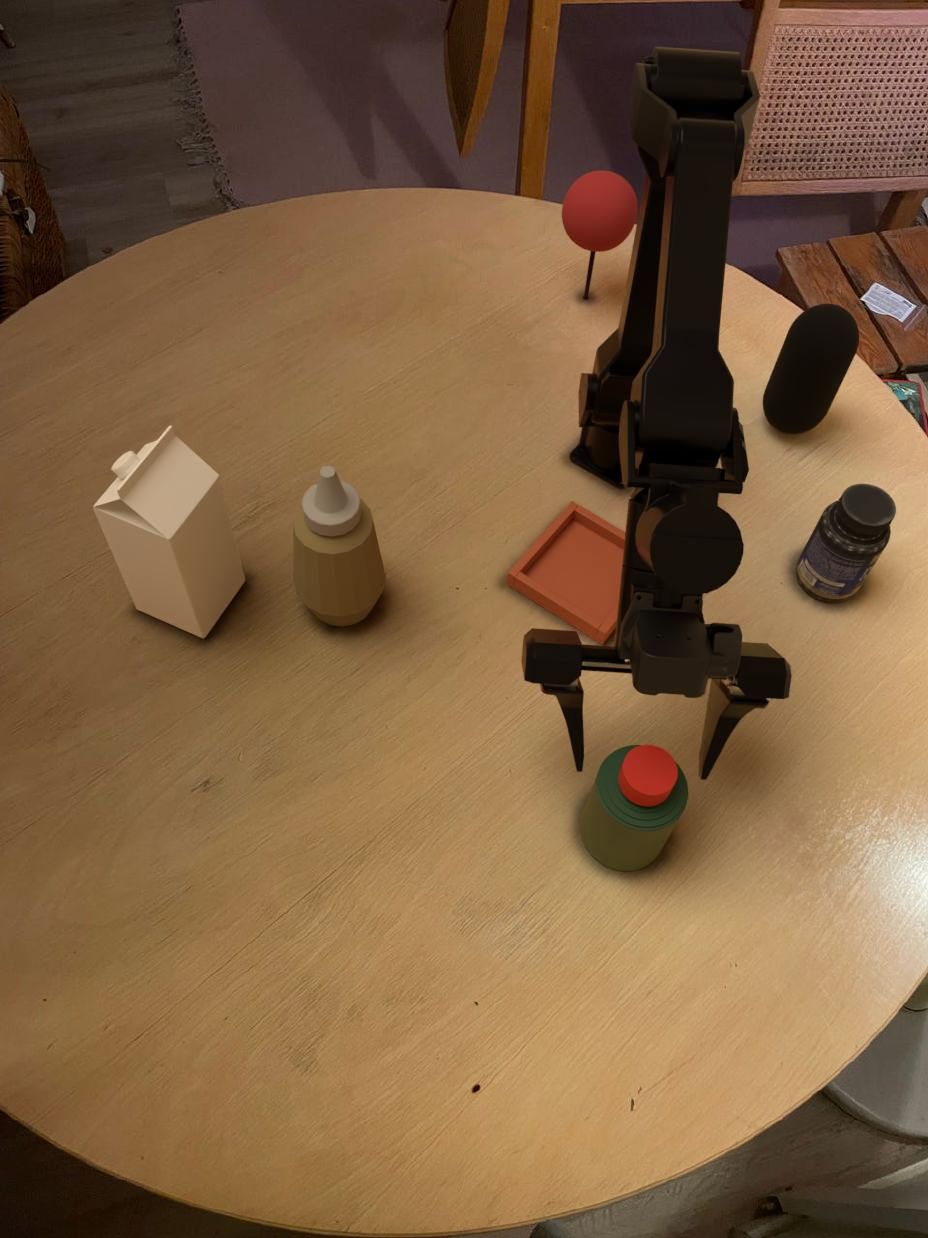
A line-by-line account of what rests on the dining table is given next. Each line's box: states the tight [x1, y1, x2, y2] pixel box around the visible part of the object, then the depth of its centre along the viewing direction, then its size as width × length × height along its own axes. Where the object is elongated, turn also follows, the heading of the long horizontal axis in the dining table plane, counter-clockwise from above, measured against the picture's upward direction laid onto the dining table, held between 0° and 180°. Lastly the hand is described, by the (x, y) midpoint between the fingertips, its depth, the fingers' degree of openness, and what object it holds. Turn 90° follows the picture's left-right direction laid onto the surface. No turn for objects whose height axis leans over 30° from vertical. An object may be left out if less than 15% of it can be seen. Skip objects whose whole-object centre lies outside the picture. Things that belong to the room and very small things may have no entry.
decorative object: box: [762, 303, 860, 435], centre depth 101 cm, size 7×7×15 cm
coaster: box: [506, 500, 626, 645], centre depth 96 cm, size 11×11×2 cm
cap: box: [618, 744, 678, 807], centre depth 74 cm, size 4×4×2 cm
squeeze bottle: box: [292, 465, 387, 627], centre depth 87 cm, size 8×8×18 cm
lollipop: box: [561, 170, 639, 301], centre depth 111 cm, size 8×8×15 cm
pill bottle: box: [795, 483, 897, 603], centre depth 93 cm, size 6×6×11 cm
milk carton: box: [92, 424, 246, 639], centre depth 86 cm, size 7×7×19 cm
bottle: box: [579, 744, 690, 872], centre depth 79 cm, size 7×7×12 cm
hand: (640, 774), depth 77 cm, fingers open, 9 cm apart
